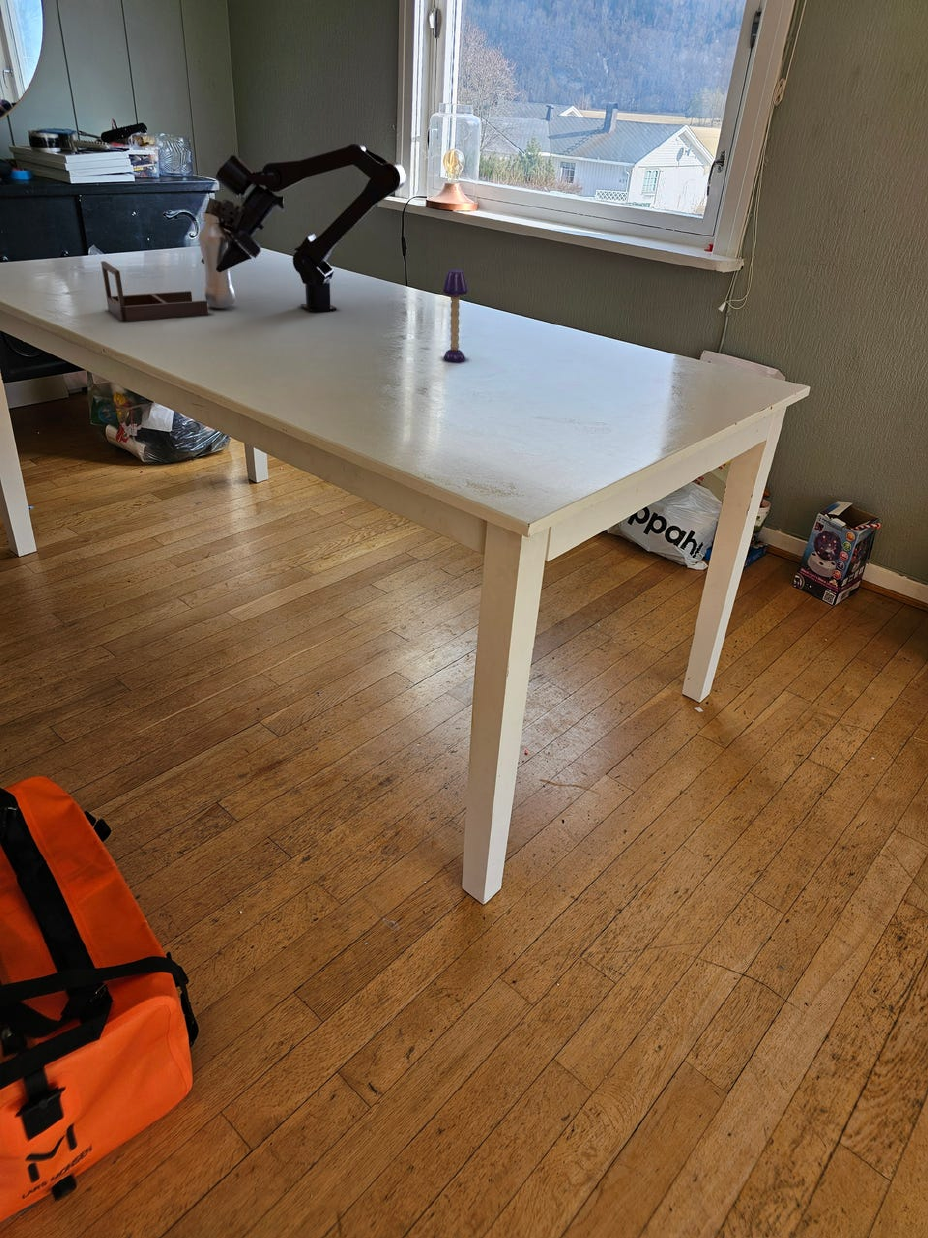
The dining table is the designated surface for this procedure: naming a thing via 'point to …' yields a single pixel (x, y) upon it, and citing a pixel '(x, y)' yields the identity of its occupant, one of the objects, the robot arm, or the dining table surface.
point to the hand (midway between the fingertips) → (210, 267)
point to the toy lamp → (455, 311)
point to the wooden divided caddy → (149, 302)
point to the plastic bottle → (215, 263)
